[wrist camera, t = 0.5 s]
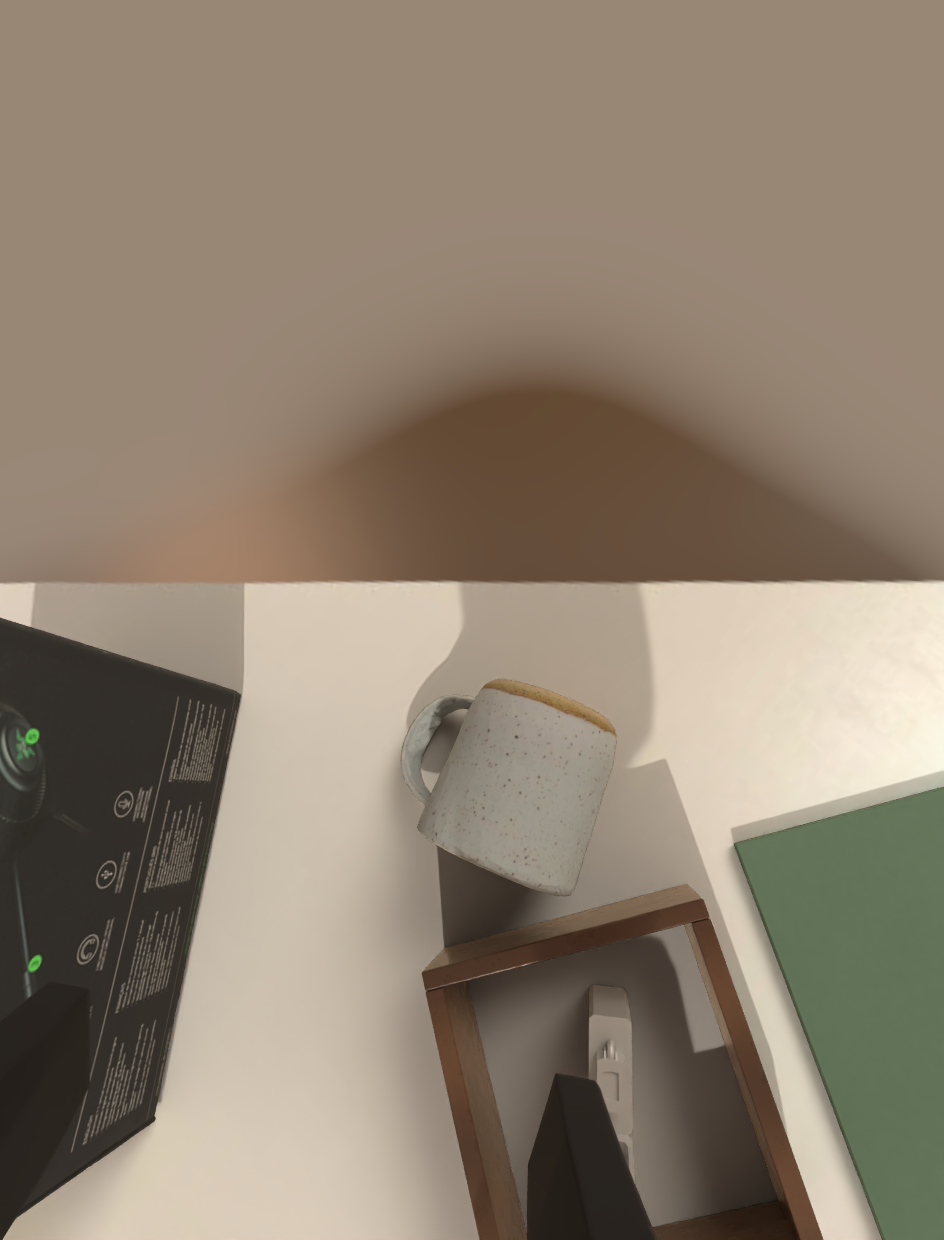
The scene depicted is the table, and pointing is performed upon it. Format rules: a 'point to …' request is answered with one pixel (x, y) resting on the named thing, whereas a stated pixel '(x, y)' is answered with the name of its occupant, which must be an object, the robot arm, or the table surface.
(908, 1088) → the rubber mat
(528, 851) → the ceramic mug
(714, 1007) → the walnut box
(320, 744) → the table surface
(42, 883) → the headset box
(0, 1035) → the robot arm
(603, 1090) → the lighter
